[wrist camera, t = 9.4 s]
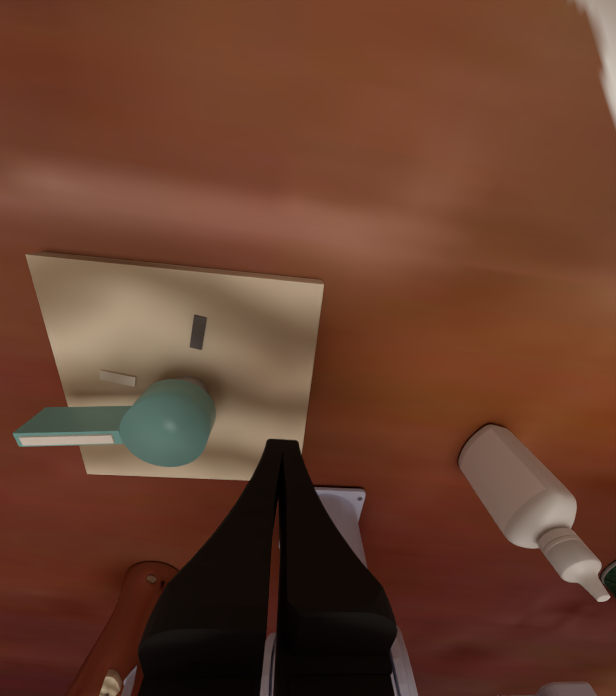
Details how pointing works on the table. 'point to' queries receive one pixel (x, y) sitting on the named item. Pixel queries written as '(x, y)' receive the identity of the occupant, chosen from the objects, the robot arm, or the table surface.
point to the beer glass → (123, 636)
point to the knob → (133, 424)
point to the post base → (183, 350)
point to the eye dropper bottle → (529, 504)
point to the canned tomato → (610, 578)
